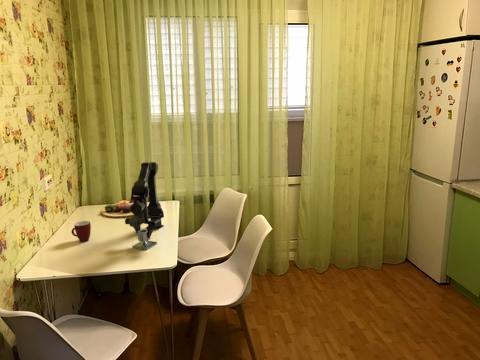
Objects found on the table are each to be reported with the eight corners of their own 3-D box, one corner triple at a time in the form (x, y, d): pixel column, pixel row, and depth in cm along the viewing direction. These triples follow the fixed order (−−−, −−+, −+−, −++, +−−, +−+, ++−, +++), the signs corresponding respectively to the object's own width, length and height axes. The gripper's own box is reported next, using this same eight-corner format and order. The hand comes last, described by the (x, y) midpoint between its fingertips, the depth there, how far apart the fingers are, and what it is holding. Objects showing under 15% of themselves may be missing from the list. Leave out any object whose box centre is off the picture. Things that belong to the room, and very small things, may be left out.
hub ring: (143, 236, 208) (142, 228, 207) (152, 238, 206) (151, 229, 205) (135, 240, 203) (135, 232, 202) (145, 242, 200) (144, 233, 199)
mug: (69, 244, 210) (67, 226, 208) (75, 238, 218) (73, 221, 216) (89, 243, 210) (87, 225, 208) (94, 237, 218) (92, 220, 216)
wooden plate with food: (125, 202, 288) (123, 191, 286) (159, 206, 273) (158, 195, 271) (90, 216, 260) (89, 204, 258) (127, 221, 246) (126, 209, 244)
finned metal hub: (143, 241, 211) (142, 231, 209) (157, 243, 207) (156, 233, 206) (132, 247, 203) (131, 236, 201) (146, 250, 199) (145, 239, 198)
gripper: (116, 211, 197) (119, 240, 201) (147, 215, 190) (149, 245, 193) (130, 205, 207) (133, 233, 210) (160, 208, 200) (162, 237, 203)
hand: (144, 237), depth 204 cm, fingers closed on hub ring, 6 cm apart
